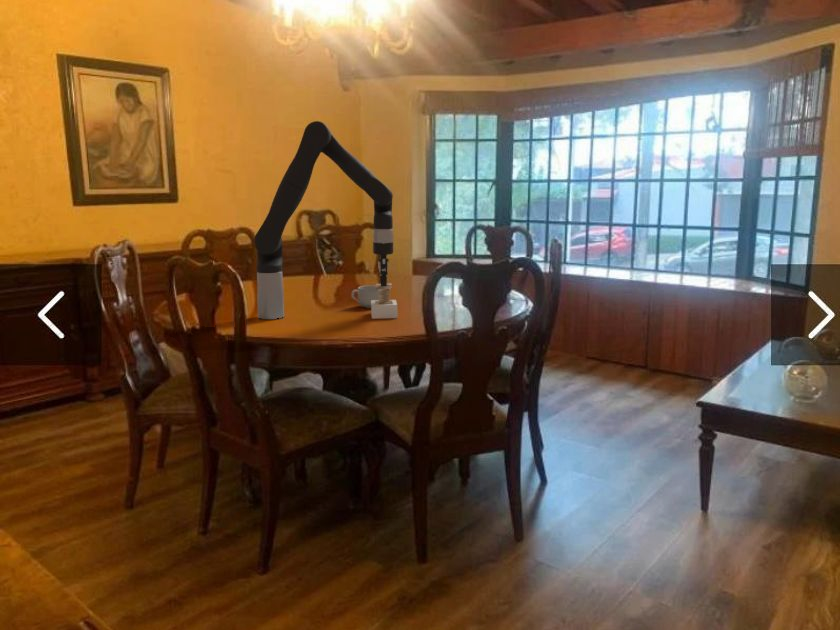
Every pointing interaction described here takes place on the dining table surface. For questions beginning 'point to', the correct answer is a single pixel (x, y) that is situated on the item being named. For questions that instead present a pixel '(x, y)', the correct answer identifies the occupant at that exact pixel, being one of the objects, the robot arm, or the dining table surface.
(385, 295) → the bracket
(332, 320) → the dining table surface
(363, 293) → the teacup
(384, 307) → the well
